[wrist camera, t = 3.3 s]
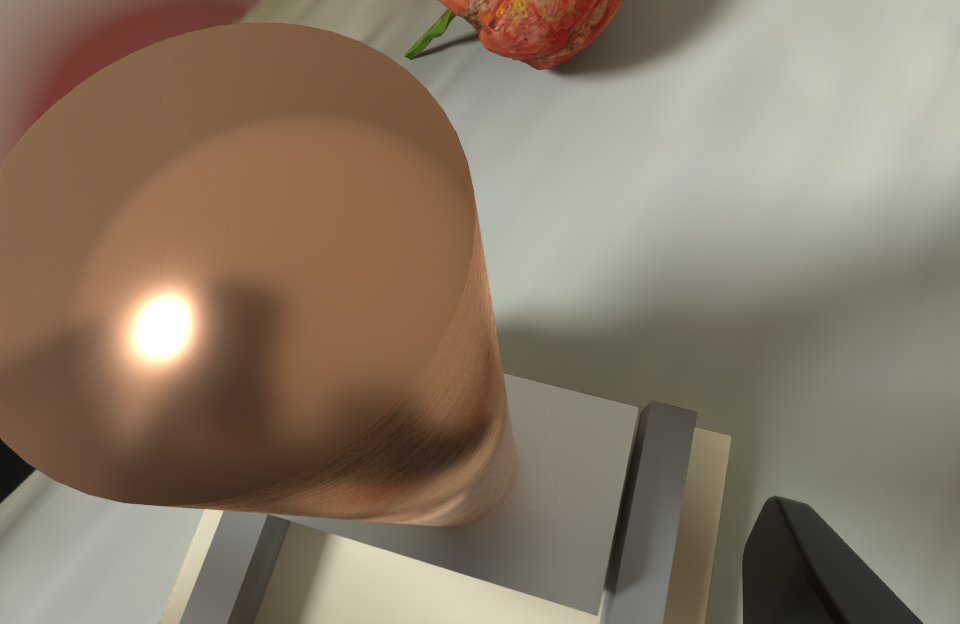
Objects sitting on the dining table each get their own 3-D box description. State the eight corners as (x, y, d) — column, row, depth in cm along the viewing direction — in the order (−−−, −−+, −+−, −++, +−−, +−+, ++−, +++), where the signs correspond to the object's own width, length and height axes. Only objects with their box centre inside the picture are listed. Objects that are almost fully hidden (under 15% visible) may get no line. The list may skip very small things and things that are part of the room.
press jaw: (585, 601, 14) (949, 1040, 2) (307, 515, 15) (-589, 445, 3) (620, 427, 15) (972, 22, 3) (361, 360, 16) (-113, -128, 4)
